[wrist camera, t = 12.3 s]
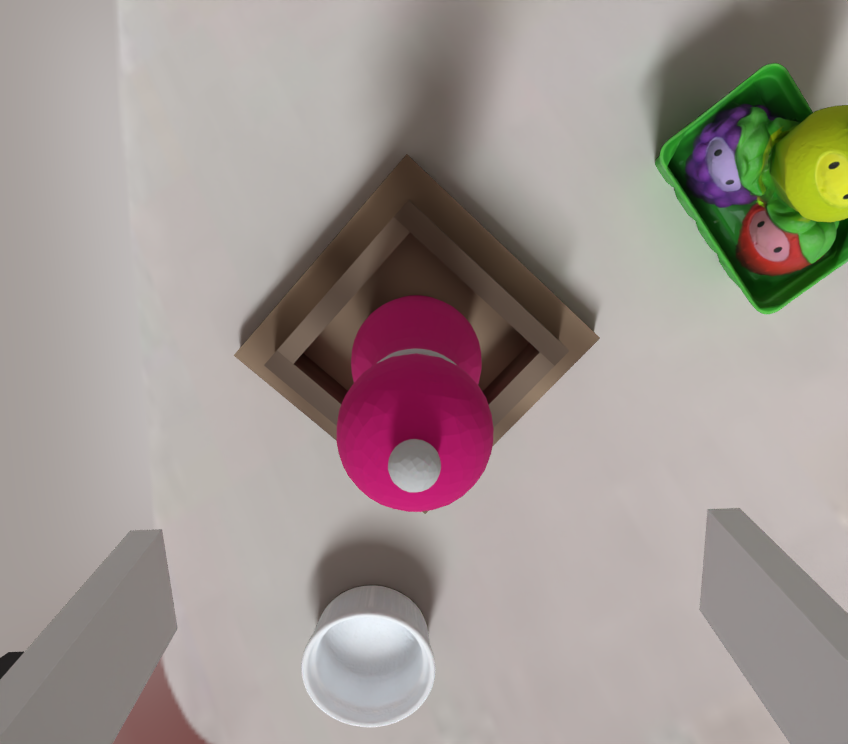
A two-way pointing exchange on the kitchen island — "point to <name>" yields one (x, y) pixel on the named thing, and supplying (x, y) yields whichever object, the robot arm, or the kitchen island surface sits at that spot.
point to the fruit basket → (766, 186)
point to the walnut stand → (416, 275)
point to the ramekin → (369, 658)
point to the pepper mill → (415, 406)
